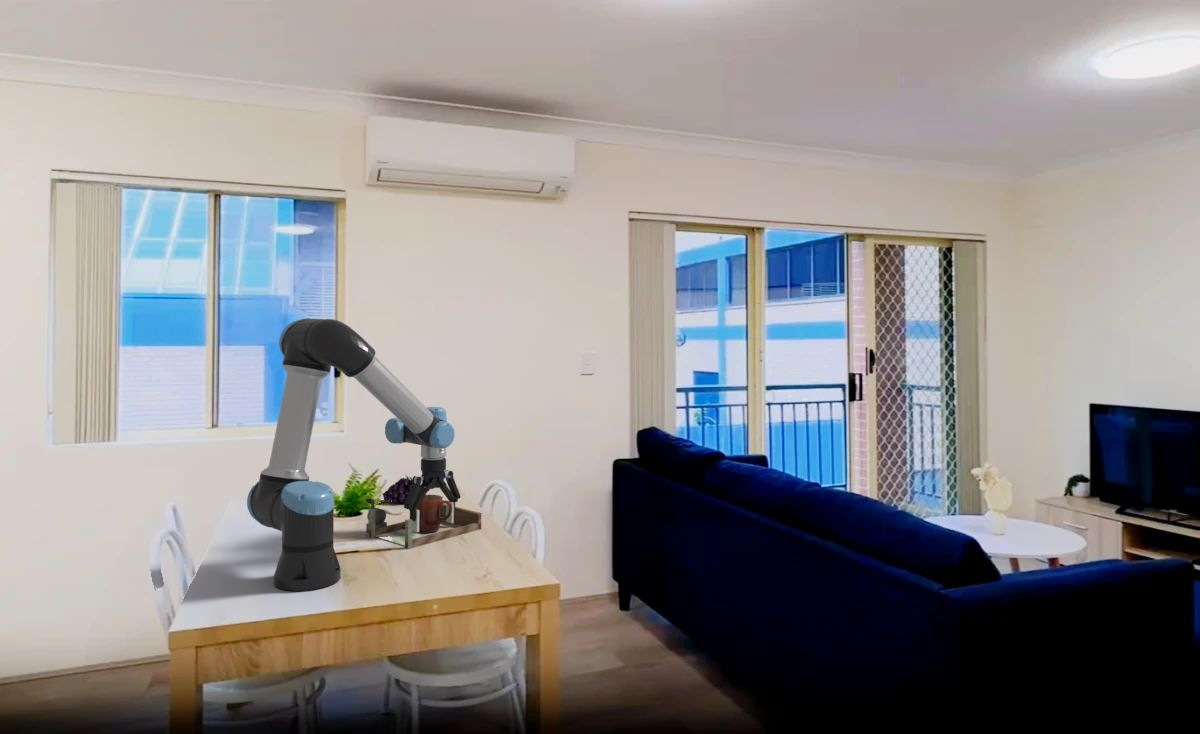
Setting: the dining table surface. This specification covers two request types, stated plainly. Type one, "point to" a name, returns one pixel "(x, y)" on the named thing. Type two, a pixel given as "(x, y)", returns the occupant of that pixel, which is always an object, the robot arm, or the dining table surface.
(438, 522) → the mug
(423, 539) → the tray
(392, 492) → the fruit
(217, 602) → the dining table surface
